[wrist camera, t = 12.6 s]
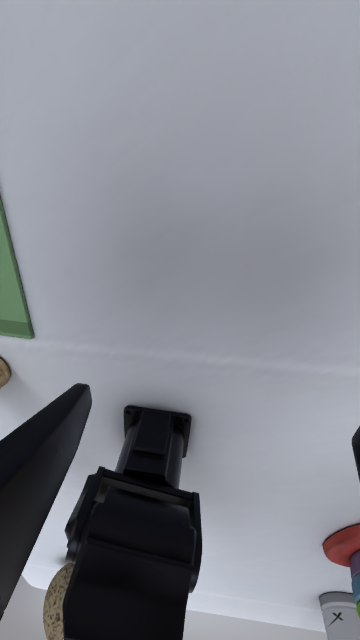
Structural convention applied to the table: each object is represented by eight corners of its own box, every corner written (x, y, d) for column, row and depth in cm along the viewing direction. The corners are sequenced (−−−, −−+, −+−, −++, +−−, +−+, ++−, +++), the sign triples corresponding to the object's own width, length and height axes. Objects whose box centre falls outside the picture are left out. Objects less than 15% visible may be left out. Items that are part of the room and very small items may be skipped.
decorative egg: (76, 552, 50) (47, 636, 42) (106, 568, 53) (84, 651, 44) (51, 558, 53) (19, 637, 45) (80, 573, 56) (55, 651, 47)
